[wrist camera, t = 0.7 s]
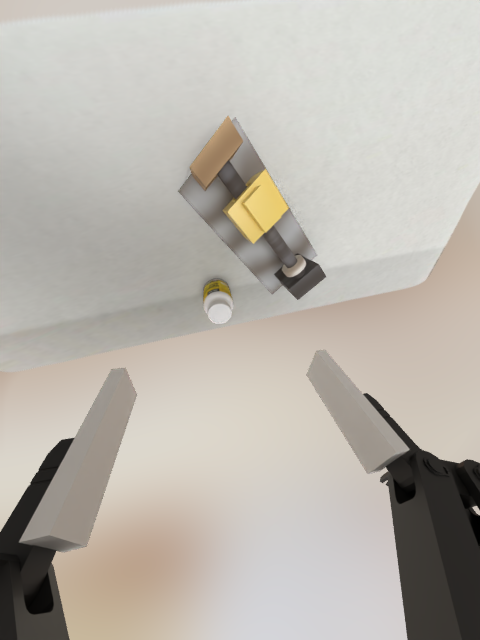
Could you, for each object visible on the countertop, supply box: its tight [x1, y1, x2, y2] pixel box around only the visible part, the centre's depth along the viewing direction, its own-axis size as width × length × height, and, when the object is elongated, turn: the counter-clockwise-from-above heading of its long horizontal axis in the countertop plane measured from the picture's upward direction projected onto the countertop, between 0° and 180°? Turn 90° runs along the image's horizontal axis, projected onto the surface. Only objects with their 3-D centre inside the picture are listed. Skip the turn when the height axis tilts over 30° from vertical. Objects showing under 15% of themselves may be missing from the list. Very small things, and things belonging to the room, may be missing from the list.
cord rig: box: [178, 116, 326, 300], centre depth 28 cm, size 25×12×9 cm, turn 43°
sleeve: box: [223, 169, 289, 244], centre depth 23 cm, size 5×6×8 cm
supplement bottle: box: [203, 279, 233, 324], centre depth 33 cm, size 5×5×10 cm
